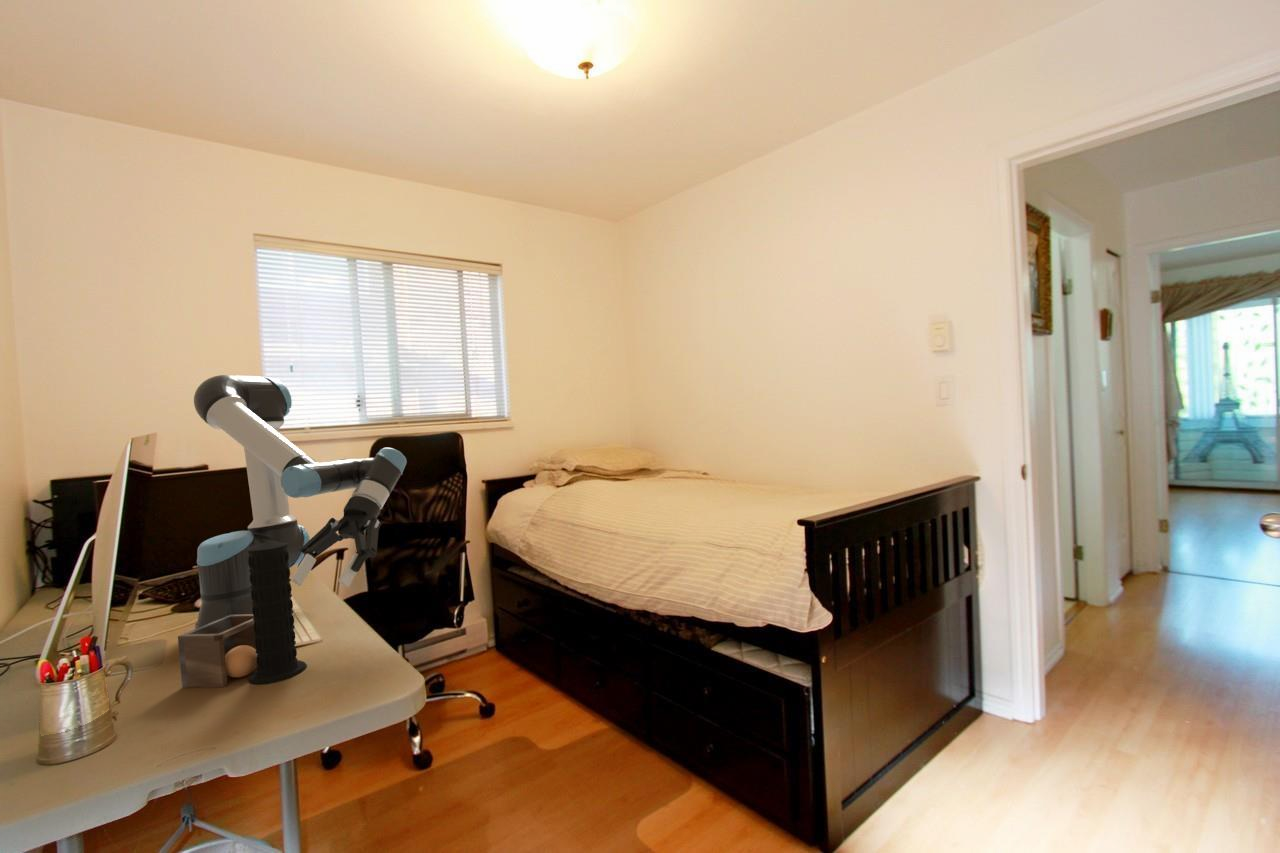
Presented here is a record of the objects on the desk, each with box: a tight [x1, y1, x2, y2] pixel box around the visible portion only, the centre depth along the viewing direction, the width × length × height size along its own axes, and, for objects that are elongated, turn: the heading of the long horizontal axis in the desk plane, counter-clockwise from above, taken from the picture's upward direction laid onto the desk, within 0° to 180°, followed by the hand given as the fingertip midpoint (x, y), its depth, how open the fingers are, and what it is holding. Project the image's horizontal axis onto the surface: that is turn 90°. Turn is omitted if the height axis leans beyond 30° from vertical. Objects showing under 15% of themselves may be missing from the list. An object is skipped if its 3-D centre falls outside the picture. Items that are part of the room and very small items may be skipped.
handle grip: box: [247, 542, 308, 685], centre depth 116 cm, size 10×26×10 cm
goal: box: [177, 614, 257, 688], centre depth 118 cm, size 12×9×10 cm
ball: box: [225, 645, 258, 678], centre depth 116 cm, size 6×6×6 cm
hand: (318, 583), depth 127 cm, fingers open, 13 cm apart
